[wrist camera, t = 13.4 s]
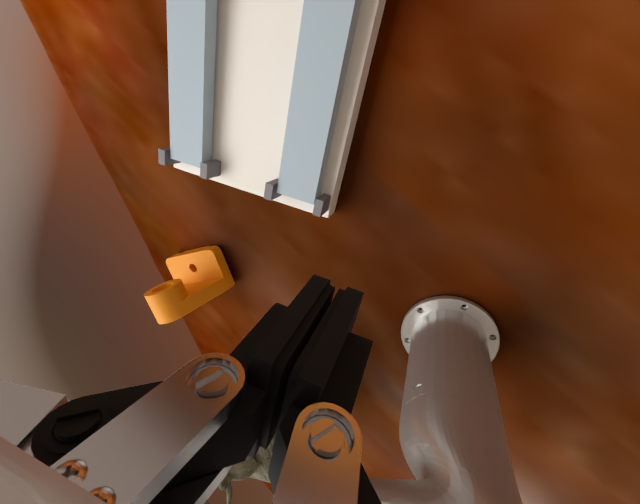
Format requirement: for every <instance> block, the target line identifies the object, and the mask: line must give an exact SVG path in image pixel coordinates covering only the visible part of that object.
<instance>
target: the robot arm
mask: <svg viewBox="0 0 640 504" xmlns="http://www.w3.org/2000/svg"><path fill="white" fill-rule="evenodd" d="M334 290H335V287H334V286H331V285H330V280H328V279H325V278H323V277H320V276H317V275H313V276H312V278H311V279H310V280H309V281H308V283H307V284H306V285H305V286H304V288H303V289H302V290H301V291H300V293H299V294H298V295H297V296H296V298H295V299H294V300H293V301H292V303H291V304H290V305H289V306H288V307H286V306H284V305H281V304H279V303H276V304H275V305H273V306H272V308H271V309H270V310H269V311H268V312H267V313H266V314H265V315H264V317H263V318H262V319H261V320H260V321H259V322H258V323H257V324H256V326H255V327H254V328H253V329H252V330H251V331H250V332H249V334H248V335H247V336H246V337H245V338H244V339H243V340H242V341H241V343H240V344H239V345H238V346H237V347H236V348H235V349H234V350H233V352H232V353H231V354H230V355H227V354H221V353H208V354H205V355H201V356H198V357H196V358H195V359H193V360H191V361H190V362H188V363H187V364H186V365H184V366H183V367H182V368H180V369H179V370H178V371H176V372H175V373H174V374H172V375H171V376H170V377H168V378H167V379H166V380H164V381H160V382H155V383H150V384H145V385H140V386H135V387H129V388H124V389H119V390H114V391H110V392H105V393H100V394H94V395H89V396H84V397H81V398H77V399H74V400H67V397H66V395H65V394H61V393H57V392H52V391H48V390H43V389H39V388H35V387H31V386H27V385H22V384H18V383H14V382H9V381H5V380H1V379H0V504H204V503H205V502H206V500H207V499H208V498H209V497H210V495H211V494H212V493H213V492H214V490H215V489H216V488H217V487H218V485H219V484H220V483H221V481H222V480H223V479H224V478H225V476H226V475H227V474H228V472H229V470H230V468H231V467H232V465H234V464H237V463H240V462H243V461H245V460H246V458H247V456H250V457H252V458H254V457H255V455H256V453H257V452H258V450H259V448H260V447H262V448H264V449H267V448H268V446H269V444H270V442H271V440H272V439H273V437H274V435H275V433H276V435H275V439H274V443H273V447H272V453H273V454H272V458H271V462H270V467H269V471H268V476H269V479H270V483H271V486H272V490H273V493H274V498H273V501H272V504H522V501H521V497H520V494H519V491H518V487H517V483H516V479H515V475H514V471H513V467H512V462H511V458H510V454H509V449H508V444H507V439H506V434H505V430H504V424H503V419H502V414H501V409H500V404H499V399H498V394H497V389H496V384H495V379H494V374H493V369H492V364H491V362H492V360H493V359H494V358H495V357H496V354H497V352H498V350H499V345H500V338H499V332H498V328H497V326H496V324H495V322H494V320H493V318H492V317H491V316H490V314H489V313H488V312H487V311H485V310H484V309H483V308H482V307H481V306H479V305H477V304H476V303H474V302H472V301H469V300H467V299H464V298H460V297H456V296H445V295H444V296H434V297H430V298H426V299H424V300H422V301H420V302H418V303H417V304H415V305H414V306H412V307H411V309H410V310H409V311H408V312H407V313H406V315H405V317H404V319H403V322H402V327H401V339H402V342H403V346H404V347H405V349H406V351H407V353H408V354H409V358H408V365H407V372H406V379H405V387H404V394H403V401H402V408H401V416H400V424H399V438H400V444H401V448H402V452H403V454H404V457H405V459H406V461H407V463H408V465H409V467H410V469H411V471H412V472H413V474H414V476H415V477H416V479H417V481H415V480H404V479H400V480H395V479H388V478H380V477H372V476H367V474H366V472H365V470H364V468H363V466H362V464H361V449H362V439H361V432H360V429H359V427H358V424H357V422H356V421H355V420H354V418H353V417H352V415H351V412H352V409H353V406H354V402H355V399H356V396H357V392H358V389H359V386H360V383H361V379H362V376H363V373H364V369H365V366H366V363H367V360H368V356H369V353H370V350H371V347H372V343H373V341H370V340H368V339H365V338H363V337H360V336H358V335H355V334H353V333H351V331H352V328H353V325H354V322H355V319H356V316H357V313H358V310H359V306H360V303H361V300H362V297H363V294H364V293H363V292H360V291H357V290H355V289H352V288H349V287H347V288H346V290H342V289H339V290H338V292H337V294H336V295H335V297H334V299H333V300H332V298H333V294H334ZM331 301H332V302H331Z"/></svg>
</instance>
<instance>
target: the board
mask: <svg viewBox="0 0 640 504" xmlns="http://www.w3.org/2000/svg"><path fill="white" fill-rule="evenodd" d="M303 3H304V0H217V26H216V53H215V81H214V108H213V135H212V160H208V161H203V162H200V168H198V167H195V166H192V165H189V164H186V163H183V162H180V161H177V160H174V159H171V158H170V147H167V148H159V149H158V155H159V164H161V165H164V166H165V165H171V164H174V168H177V169H180V170H183V171H186V172H189V173H193V174H196V175H199V176H200V177H201V178H204V179H211V180H214V181H217V182H220V183H223V184H226V185H229V186H232V187H235V188H238V189H241V190H244V191H247V192H250V193H253V194H256V195H259V196H262V197H264V199H267V200H270V201H271V200H274V201H277V202H280V203H283V204H286V205H289V206H292V207H295V208H298V209H301V210H304V211H307V212H311V213H313V214H312V215H315V216H318V217H321V216H323V217H326V218H328V217H329V216H331V215H332V214H333V213H334V212H335V208H336V204H337V200H338V195H339V191H340V187H341V183H342V179H343V175H344V171H345V167H346V163H347V159H348V155H349V150H350V146H351V142H352V138H353V134H354V130H355V126H356V122H357V118H358V114H359V109H360V105H361V101H362V97H363V93H364V89H365V85H366V81H367V77H368V73H369V69H370V64H371V60H372V56H373V52H374V48H375V44H376V40H377V36H378V32H379V28H380V23H381V19H382V15H383V11H384V7H385V3H386V0H362V1H361V5H360V10H359V15H358V20H357V24H356V29H355V34H354V39H353V43H352V48H351V53H350V57H349V62H348V67H347V72H346V76H345V81H344V86H343V91H342V95H341V100H340V105H339V110H338V114H337V119H336V124H335V129H334V133H333V138H332V143H331V147H330V152H329V157H328V162H327V166H326V171H325V176H324V181H323V185H322V190H321V195H320V196H319V197H318V198H316V200H315V204H314V205H313V204H310V203H306V202H303V201H300V200H297V199H294V198H291V197H288V196H285V195H282V194H279V193H277V187H278V180H279V173H280V165H281V158H282V151H283V144H284V137H285V130H286V123H287V116H288V109H289V102H290V95H291V88H292V81H293V74H294V67H295V60H296V53H297V46H298V39H299V32H300V24H301V17H302V10H303Z"/></svg>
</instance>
